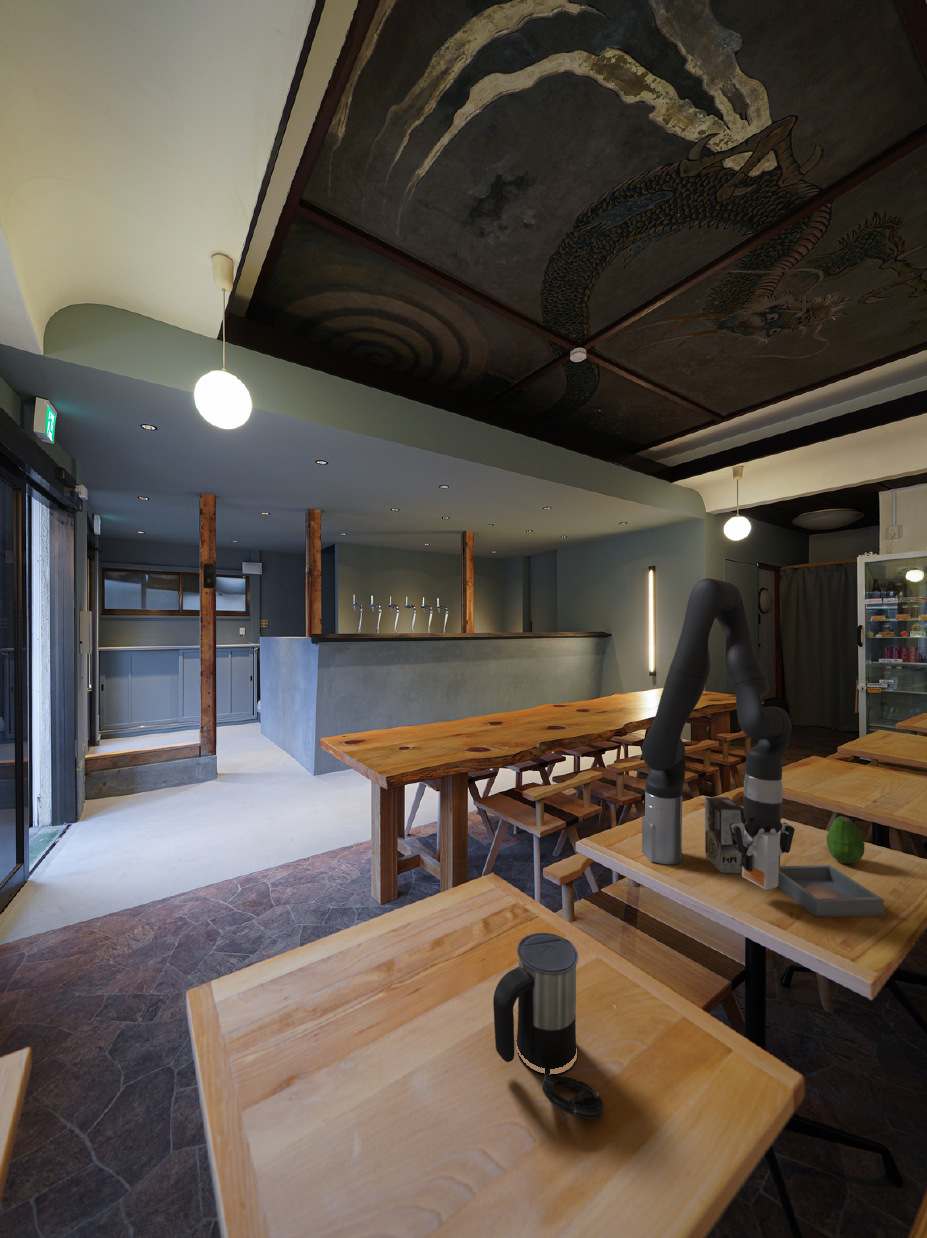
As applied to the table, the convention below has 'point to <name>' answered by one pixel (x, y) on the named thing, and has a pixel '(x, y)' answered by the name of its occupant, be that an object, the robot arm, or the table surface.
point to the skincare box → (764, 861)
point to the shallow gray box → (828, 892)
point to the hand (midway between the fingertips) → (760, 869)
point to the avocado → (845, 841)
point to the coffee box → (722, 833)
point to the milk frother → (544, 1016)
